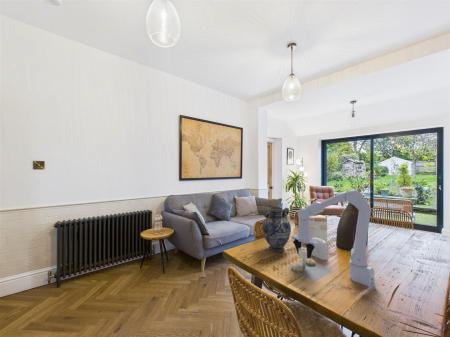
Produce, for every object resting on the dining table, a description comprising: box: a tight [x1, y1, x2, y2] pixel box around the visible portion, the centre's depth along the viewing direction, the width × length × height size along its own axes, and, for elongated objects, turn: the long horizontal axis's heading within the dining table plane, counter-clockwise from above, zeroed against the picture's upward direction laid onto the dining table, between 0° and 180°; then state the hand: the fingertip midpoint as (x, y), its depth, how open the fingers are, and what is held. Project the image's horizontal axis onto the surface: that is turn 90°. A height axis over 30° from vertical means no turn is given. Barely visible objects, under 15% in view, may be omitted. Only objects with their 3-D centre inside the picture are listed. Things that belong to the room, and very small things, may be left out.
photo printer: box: [311, 238, 329, 261], centre depth 123 cm, size 10×4×12 cm, turn 25°
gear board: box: [286, 258, 334, 282], centre depth 107 cm, size 16×18×6 cm
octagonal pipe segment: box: [297, 247, 310, 259], centre depth 110 cm, size 5×5×4 cm
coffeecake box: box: [305, 215, 328, 245], centre depth 151 cm, size 15×7×20 cm, turn 80°
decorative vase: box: [262, 206, 292, 253], centre depth 139 cm, size 21×19×28 cm
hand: (303, 255), depth 110 cm, fingers closed on octagonal pipe segment, 5 cm apart
